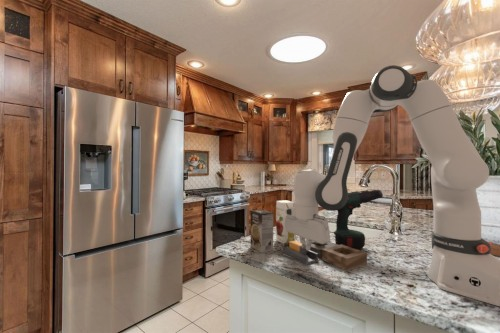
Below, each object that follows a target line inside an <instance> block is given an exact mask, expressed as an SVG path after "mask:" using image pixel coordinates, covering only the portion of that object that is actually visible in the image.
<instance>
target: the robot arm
mask: <svg viewBox="0 0 500 333" xmlns="http://www.w3.org/2000/svg"><path fill="white" fill-rule="evenodd" d="M399 106H400V107H401V108H403V109H404V110H405V112H406V113H407V115H408V118H409V121H410V123H411V126H412V128H413V129H414V132H415V134H416V137H417V140H418V141H419V142H418V143H419V144H420V146H421V147H422V149H423V151H424V153H425V154H426V157H427V158H428V160H429V162H430V164H431V166H430V181H431V185H430V186H431V195H432V196H431V197H432V205H433V231H432V233H431V249H432V256H431V261H430V266H429V269H428V271H427V274H426V276H427V277H428V278H429V280H430V281H432V282H433V283H435V284H436V286H437V287H438V288H439V289H440V290H443V291H447V292H450V293H453V294H457V295H459V296H462V297H463V296H464V297H466V298H470V299H474V300H476V301H479V302H484V303H487V304H491V305H494V306H497V307H500V259H498V258H497V257H495V256H494V255H493V254H491V252H492V246H493V244H492V241H491V242H487V240H485V239H484V238H482V210H481V208H480V203H479V199H478V194H477V189H478V188H480V187H481V186H483V185H484V184H486V182H487V180H488V179H489V176H490V169H489V166H488V164H487V163H486V162H485V160H484V159H483V158H482V156H481V155H480V153H479V151H478V150H477V148H476V146H475V145H474V144H473V142H472V141H471V139H470V138H469V136H468V135H467V134H466V132H465V131H464V129H463V127H462V125H461V123H460V120H459V119H458V116H457V113H456V112H455V110H454V108H453V106H452V103H451V102H450V100H449V98H448V96H447V94H446V93H445V91H444V90H443V89H442V87H441V86H440V85H439V84H438V82H437V81H435V80H433V79H422V80H419V81H418V78H417V77H416V76H415V75H413V74H412V73H410V72H409V71H408V70H406V69H405V68H403V67H401V66H400V65H388V66H385V67H383V68H382V69H380V70H379V71H378V72H377V73H376V74H375V75H374V77H373V78H372V80H371V85H370V86H369V88H368V89H365V90H362V89H360V90H359V89H356V90H350V91H349V92H347V93H346V95H345V97H344V98H343V100H342V102H341V103H340V106H339V109H338V111H337V114H336V117H335V121H334V125H333V131H332V139H333V140H332V141H333V151H332V156H331V160H330V162H329V165H328V166H329V167H328V170H327V173H326V174H323V173H321V172H319V171H318V170H316V169H315V168H310V169H309V168H308V169H303V170H300V171H298V172H297V173H296V174H295V177H294V183H293V184H294V185H293V188H294V189H293V193H294V201H293V202H294V207H292V208H288V209H286V210H285V213H286V214H287V215H286V218H285V228H286V231H287V232H289V233H292V234H295V235H296V236H298V237H299V242H301V244H302V248H303V249H305V250H307V251H308V250H310V245H311V244H312V242H313V241H315V242H317V243H320V244H326V243H328V242H331V235H330V225H329V221H328V219H327V218H326V216H323V215H319V206H320V208H322V209H323V210H325V211H330V212H333V211H337V210H339V209H341V208H342V207H343V206H344V205H345V204H346V202H347V200H348V193H349V191H348V186H347V183H348V182H347V181H348V176H349V173H350V169H351V166H352V163H353V159H354V156H355V153H356V152H357V150H358V148H359V147H360V145H361V144H362V141H363V139H364V137H365V136H366V133H367V130H368V127H369V123H370V120H371V117H372V115H373V114H374V113H384V112H390V111H392V110H394V109H396V108H397V107H399ZM306 241H307V244H306Z"/></svg>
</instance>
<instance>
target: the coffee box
mask: <svg viewBox="0 0 500 333" xmlns="http://www.w3.org/2000/svg"><path fill="white" fill-rule="evenodd" d="M250 247H251V248H252V249H255V250H256V251H258V252H260V253H261V254H262V253H267V252H271V251H274V212H272V211H268V210H266V209H263V208H262V209H251V210H250Z"/></svg>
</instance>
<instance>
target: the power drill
mask: <svg viewBox="0 0 500 333" xmlns="http://www.w3.org/2000/svg"><path fill="white" fill-rule="evenodd" d="M383 195H384V194H383V192H382V191H381V190H380V189H373V190H367V189H366V190H361V191H358V190H356V191H351V192H348V200H347V202H346V204H345V205H344V206H343V207H342V208H341V209H339V210H336V211H337V215H336V221H335V223H336V225H335V226H336V229H335V230H334V231H333V235H334V241H335V244H338V245H341V244H342V245H345V246H348V247H351V248H354V249H357V250H360V251H361V250H362V249H363V248H364V247H365V245H366V236H365V234H364V232H362V231H360V230H355V229H349V226H348V225H349V224H348V223H349V217H350V216H351V215H353V214H354V213H353V211H354V210H355V209H359V208H361V204H366V203H369V202H372V201H375V200H378V199H381V198H383Z"/></svg>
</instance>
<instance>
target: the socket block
mask: <svg viewBox="0 0 500 333" xmlns="http://www.w3.org/2000/svg"><path fill="white" fill-rule="evenodd" d="M305 241H306V240H305ZM299 242H300V243H301V241H299ZM306 244H307V241H306ZM337 245H338V244H335V243H334V242H331V241H329V242H328V243H326V244H324V246H317V245H314V241H313V242H312V244H311V245H310V251H313V252H315V253H318V259H319V258H320V259H322V249H325V248H329V247H333V246H337Z"/></svg>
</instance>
